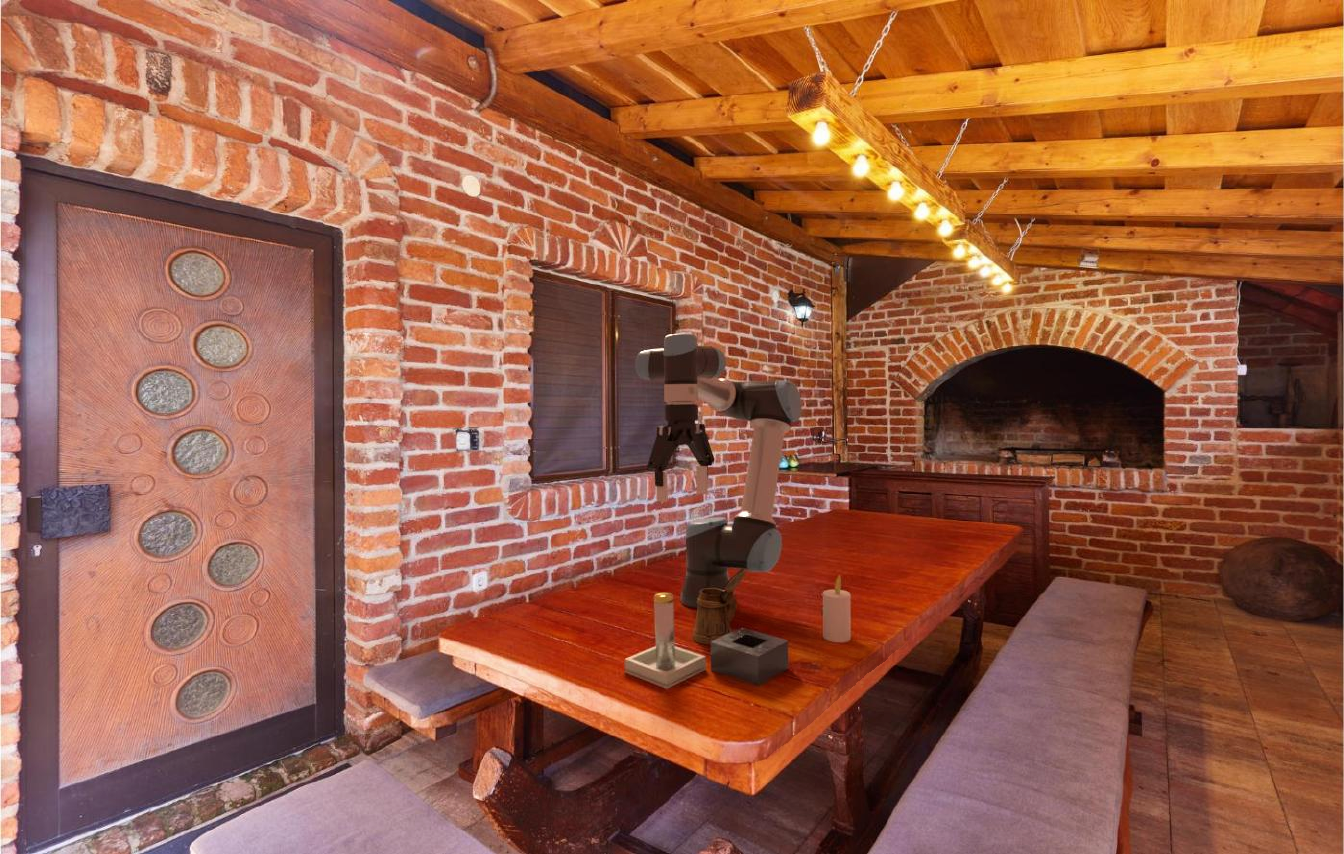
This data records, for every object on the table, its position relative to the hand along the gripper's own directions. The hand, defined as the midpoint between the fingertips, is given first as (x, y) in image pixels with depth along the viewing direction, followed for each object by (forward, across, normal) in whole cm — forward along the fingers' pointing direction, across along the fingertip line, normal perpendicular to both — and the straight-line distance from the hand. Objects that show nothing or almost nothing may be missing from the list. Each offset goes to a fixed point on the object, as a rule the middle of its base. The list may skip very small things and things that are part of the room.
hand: (682, 497), depth 146 cm
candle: (+35, +28, -23) cm, 50 cm away
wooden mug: (+35, +9, -3) cm, 36 cm away
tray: (+35, -12, -5) cm, 37 cm away
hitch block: (+35, 0, -18) cm, 39 cm away
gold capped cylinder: (+34, -12, -5) cm, 36 cm away
